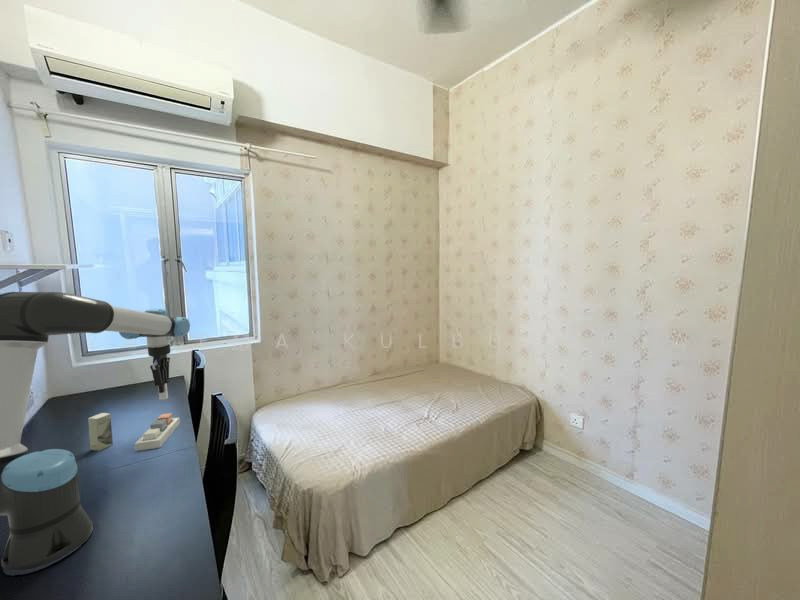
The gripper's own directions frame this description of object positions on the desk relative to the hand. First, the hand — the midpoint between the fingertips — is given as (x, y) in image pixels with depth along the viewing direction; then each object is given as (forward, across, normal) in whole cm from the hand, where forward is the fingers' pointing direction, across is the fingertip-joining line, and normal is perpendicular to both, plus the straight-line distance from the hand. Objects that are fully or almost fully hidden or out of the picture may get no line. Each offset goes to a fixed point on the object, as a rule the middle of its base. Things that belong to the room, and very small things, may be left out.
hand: (163, 398), depth 137 cm
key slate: (+11, -6, 0) cm, 12 cm away
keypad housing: (+14, -6, 0) cm, 15 cm away
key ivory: (+12, -12, 0) cm, 17 cm away
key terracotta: (+11, 0, 0) cm, 11 cm away
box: (+14, -9, +18) cm, 25 cm away
